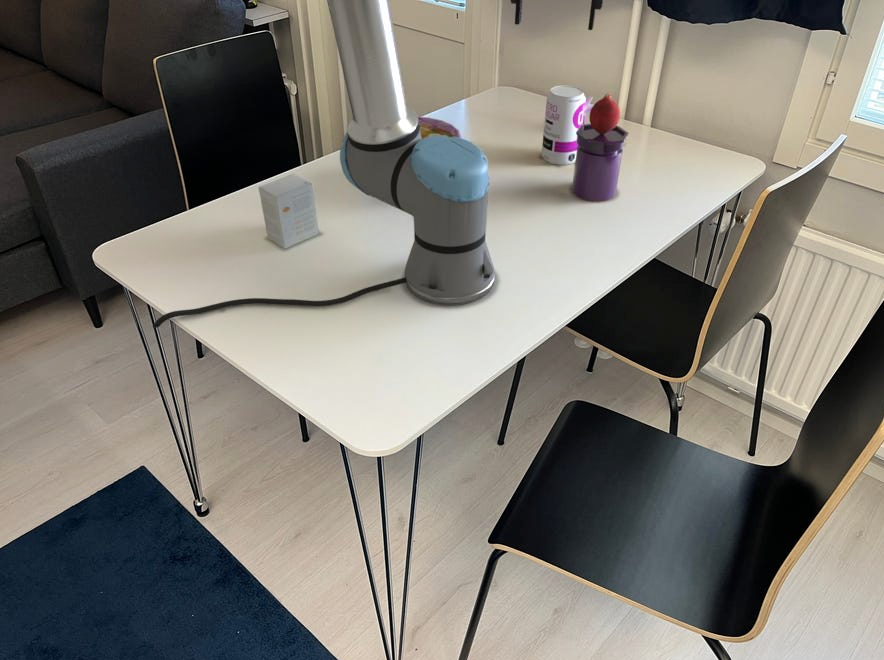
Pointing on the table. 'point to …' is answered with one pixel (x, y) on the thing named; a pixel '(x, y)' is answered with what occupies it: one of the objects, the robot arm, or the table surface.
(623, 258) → the table surface
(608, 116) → the onion
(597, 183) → the jar
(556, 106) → the supplement can
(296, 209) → the small box
